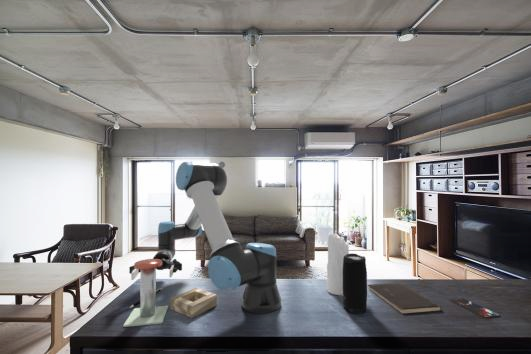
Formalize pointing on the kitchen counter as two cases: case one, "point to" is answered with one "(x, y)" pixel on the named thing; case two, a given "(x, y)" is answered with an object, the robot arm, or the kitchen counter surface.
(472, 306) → the smartphone
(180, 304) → the block
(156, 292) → the pen
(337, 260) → the decorative vase
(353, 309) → the portable speaker
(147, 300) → the steel peg
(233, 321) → the kitchen counter surface
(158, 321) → the sage pad
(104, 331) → the kitchen counter surface
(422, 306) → the hardcover book
